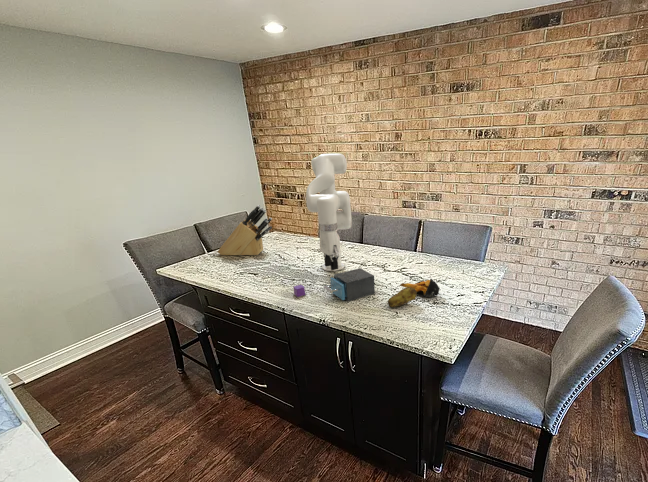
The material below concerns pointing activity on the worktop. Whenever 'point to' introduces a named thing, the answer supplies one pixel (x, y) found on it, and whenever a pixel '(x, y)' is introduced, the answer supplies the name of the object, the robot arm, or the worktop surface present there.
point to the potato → (402, 297)
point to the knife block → (247, 236)
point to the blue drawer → (337, 288)
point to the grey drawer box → (357, 283)
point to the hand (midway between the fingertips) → (331, 267)
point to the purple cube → (299, 290)
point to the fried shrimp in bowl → (424, 288)
